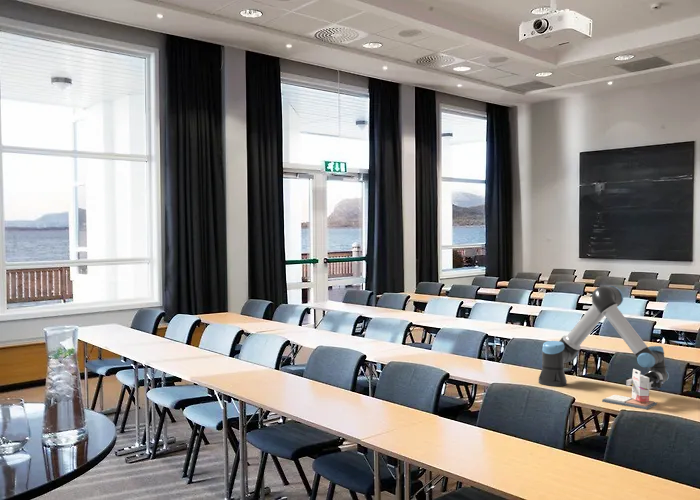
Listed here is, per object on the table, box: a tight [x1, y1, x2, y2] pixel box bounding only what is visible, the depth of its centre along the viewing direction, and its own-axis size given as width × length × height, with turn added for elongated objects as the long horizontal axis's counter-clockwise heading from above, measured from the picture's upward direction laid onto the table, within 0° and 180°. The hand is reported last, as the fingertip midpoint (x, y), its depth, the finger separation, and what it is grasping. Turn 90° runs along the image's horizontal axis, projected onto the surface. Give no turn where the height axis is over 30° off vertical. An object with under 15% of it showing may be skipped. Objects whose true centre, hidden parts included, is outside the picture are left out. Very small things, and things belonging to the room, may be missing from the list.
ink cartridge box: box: [631, 368, 650, 402], centre depth 304 cm, size 9×5×15 cm, turn 1°
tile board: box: [601, 394, 658, 410], centre depth 308 cm, size 21×15×2 cm
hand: (637, 384), depth 301 cm, fingers closed on ink cartridge box, 9 cm apart
